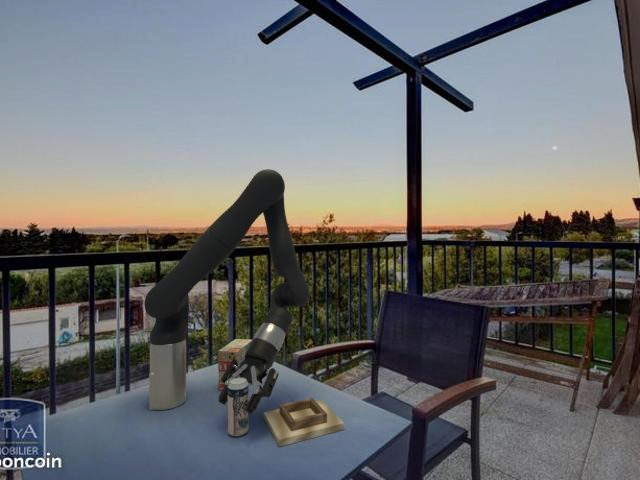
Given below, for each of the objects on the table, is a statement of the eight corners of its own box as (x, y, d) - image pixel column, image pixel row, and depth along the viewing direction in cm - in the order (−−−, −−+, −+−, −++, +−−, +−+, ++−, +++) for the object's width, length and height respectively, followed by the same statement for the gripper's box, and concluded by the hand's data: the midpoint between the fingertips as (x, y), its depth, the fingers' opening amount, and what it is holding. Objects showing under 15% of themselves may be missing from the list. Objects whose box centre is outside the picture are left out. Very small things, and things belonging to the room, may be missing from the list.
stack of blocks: (246, 365, 121) (246, 331, 121) (263, 366, 120) (262, 332, 120) (218, 391, 100) (217, 350, 100) (237, 392, 99) (237, 351, 99)
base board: (279, 446, 72) (279, 430, 72) (263, 418, 84) (263, 404, 84) (344, 429, 79) (344, 414, 79) (321, 405, 91) (321, 392, 91)
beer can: (238, 440, 75) (237, 386, 75) (223, 434, 77) (223, 382, 78) (253, 430, 79) (252, 379, 79) (238, 424, 82) (238, 375, 82)
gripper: (238, 333, 88) (203, 393, 79) (281, 341, 81) (249, 408, 71) (252, 347, 93) (221, 406, 83) (294, 356, 86) (265, 422, 76)
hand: (234, 407), depth 77 cm, fingers open, 8 cm apart
